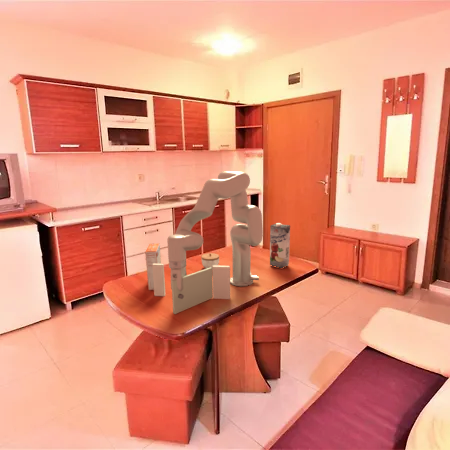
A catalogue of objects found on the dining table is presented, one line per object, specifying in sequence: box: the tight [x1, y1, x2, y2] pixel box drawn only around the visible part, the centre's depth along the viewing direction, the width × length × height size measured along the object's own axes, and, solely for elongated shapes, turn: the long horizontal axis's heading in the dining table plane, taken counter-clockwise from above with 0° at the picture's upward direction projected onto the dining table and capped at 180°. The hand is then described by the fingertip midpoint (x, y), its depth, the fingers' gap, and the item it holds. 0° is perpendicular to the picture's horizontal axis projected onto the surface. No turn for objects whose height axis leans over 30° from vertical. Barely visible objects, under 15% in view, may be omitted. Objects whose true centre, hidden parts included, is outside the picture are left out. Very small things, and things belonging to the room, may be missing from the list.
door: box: [171, 267, 214, 315], centre depth 142 cm, size 22×3×15 cm, turn 134°
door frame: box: [152, 263, 231, 300], centre depth 152 cm, size 37×2×16 cm, turn 83°
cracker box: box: [144, 242, 162, 291], centre depth 166 cm, size 14×6×21 cm, turn 5°
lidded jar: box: [201, 252, 220, 271], centre depth 190 cm, size 11×11×9 cm
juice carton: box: [269, 222, 291, 269], centre depth 190 cm, size 9×10×27 cm
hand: (179, 301), depth 142 cm, fingers closed
